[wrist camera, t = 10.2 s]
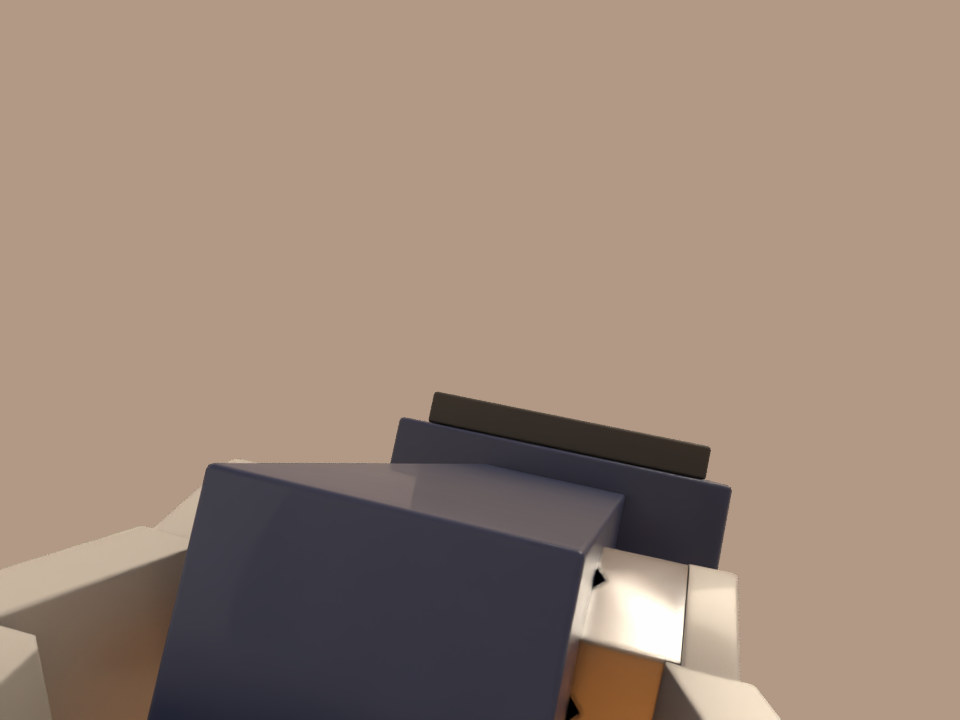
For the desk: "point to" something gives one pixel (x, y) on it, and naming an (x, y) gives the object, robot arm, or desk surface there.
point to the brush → (422, 569)
